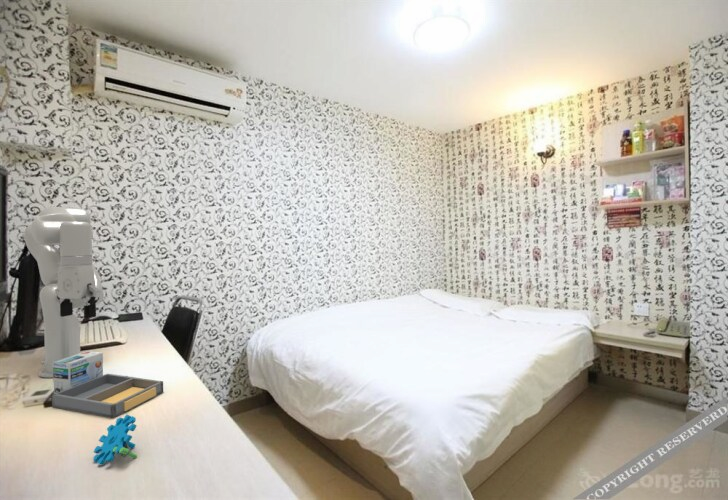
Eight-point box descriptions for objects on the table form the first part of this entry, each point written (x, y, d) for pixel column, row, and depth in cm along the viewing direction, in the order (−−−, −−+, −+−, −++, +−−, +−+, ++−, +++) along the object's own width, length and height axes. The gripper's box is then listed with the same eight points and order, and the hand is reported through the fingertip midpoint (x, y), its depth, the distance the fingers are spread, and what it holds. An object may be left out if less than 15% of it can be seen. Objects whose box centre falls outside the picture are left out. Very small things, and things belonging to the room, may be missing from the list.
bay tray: (52, 407, 97) (51, 394, 97) (107, 384, 113) (107, 373, 113) (114, 418, 91) (114, 405, 91) (164, 392, 107) (164, 381, 107)
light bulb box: (70, 399, 102) (69, 363, 102) (52, 397, 103) (51, 361, 103) (104, 384, 113) (103, 351, 112) (87, 382, 114) (86, 350, 114)
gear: (87, 446, 77) (125, 405, 81) (110, 454, 80) (145, 415, 84) (95, 476, 69) (137, 430, 73) (120, 484, 73) (159, 440, 77)
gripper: (42, 261, 105) (44, 317, 106) (85, 262, 101) (86, 321, 101) (69, 260, 113) (70, 312, 113) (110, 261, 108) (111, 315, 109)
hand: (78, 316), depth 107 cm, fingers open, 9 cm apart
